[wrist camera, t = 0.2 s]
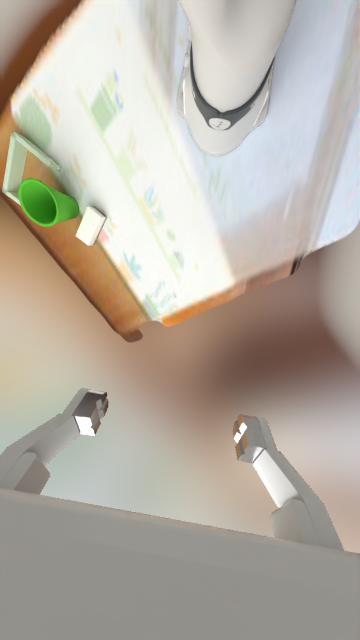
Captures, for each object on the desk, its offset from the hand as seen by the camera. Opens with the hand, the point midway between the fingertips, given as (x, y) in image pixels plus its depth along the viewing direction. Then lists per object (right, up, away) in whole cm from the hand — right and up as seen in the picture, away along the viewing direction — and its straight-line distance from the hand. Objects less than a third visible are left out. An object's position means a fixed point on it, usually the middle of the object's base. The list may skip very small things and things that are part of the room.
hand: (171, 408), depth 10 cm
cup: (-30, +37, +37) cm, 61 cm away
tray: (-38, +43, +35) cm, 67 cm away
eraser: (-25, +33, +39) cm, 57 cm away
